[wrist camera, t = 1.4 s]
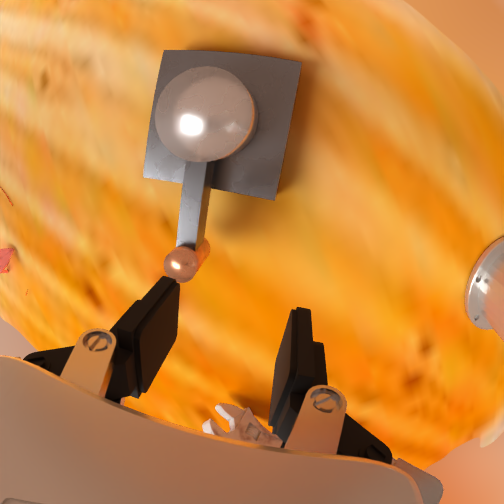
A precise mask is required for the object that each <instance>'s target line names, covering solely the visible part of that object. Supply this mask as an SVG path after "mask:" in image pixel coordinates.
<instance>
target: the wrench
mask: <svg viewBox="0 0 504 504" xmlns="http://www.w3.org/2000/svg"><path fill="white" fill-rule="evenodd" d="M215 409H216V410H217V411H218V413H219V414H220V415H221V416H223V417H224V418H225V419H226V420H228V421H229V424H230V431H229V432H228V433H226V432H225V431H224V430H222V429H221V428H220V427H219V426H218V425H217V424H216V423H215V422H214V421H213V420H212V419H209V420H208V421H206V422H204V423H203V425H202V427H203V431H204V432H205V433H209V434H213V435H217V436H221V437H225V438H229V439H234V440H239V441H243V442H248V443H254V444H259V445H265V446H271V447H277V448H280V446H281V443H282V440H281V439H280V438H279V437H278V436H277V435H275V434H272V433H271V432H269V431H268V430H267V429H266V428H264V427H263V426H262V425H261V424H260V422H259V421H258V420H257V419H256V418H255V417H254V416H253V413H252V412H251V410H250V408H249V407H247V408H246V409H244V410H242V409H240V408H238V407H236V406H234V405H230V404H225V403H219V404H218V405H216V406H215Z"/></svg>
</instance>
